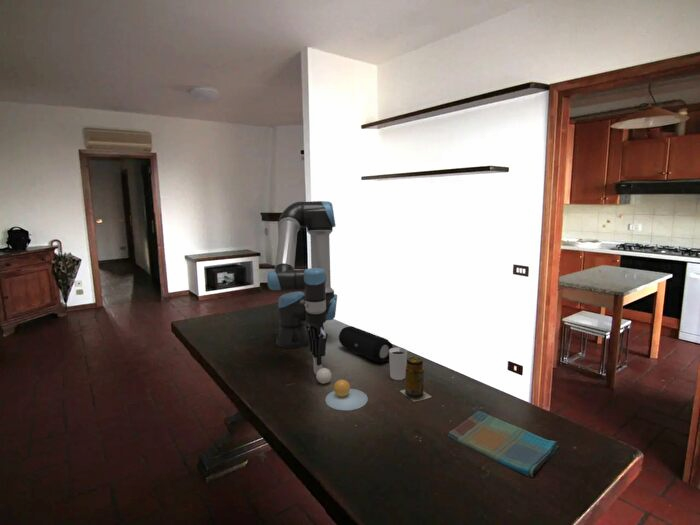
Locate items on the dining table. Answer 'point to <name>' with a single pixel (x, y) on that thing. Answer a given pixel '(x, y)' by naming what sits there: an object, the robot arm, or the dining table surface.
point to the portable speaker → (365, 344)
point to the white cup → (398, 363)
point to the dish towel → (504, 443)
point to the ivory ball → (323, 375)
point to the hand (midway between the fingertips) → (317, 372)
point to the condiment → (415, 380)
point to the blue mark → (347, 400)
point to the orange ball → (341, 388)
